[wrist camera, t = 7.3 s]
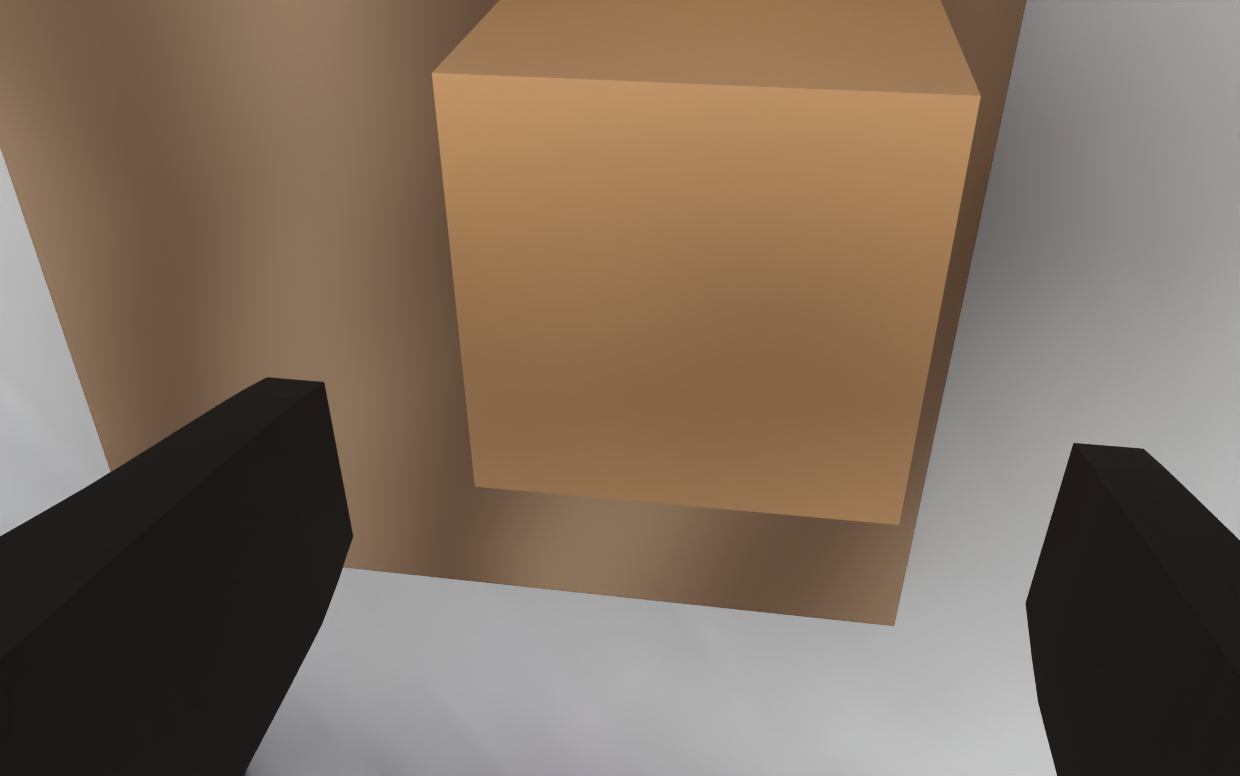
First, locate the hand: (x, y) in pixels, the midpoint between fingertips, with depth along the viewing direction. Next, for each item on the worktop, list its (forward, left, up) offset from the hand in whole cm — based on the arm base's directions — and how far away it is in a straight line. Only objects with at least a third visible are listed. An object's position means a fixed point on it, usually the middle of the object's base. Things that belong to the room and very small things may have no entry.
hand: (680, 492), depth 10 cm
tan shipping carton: (0, +1, -7) cm, 7 cm away
